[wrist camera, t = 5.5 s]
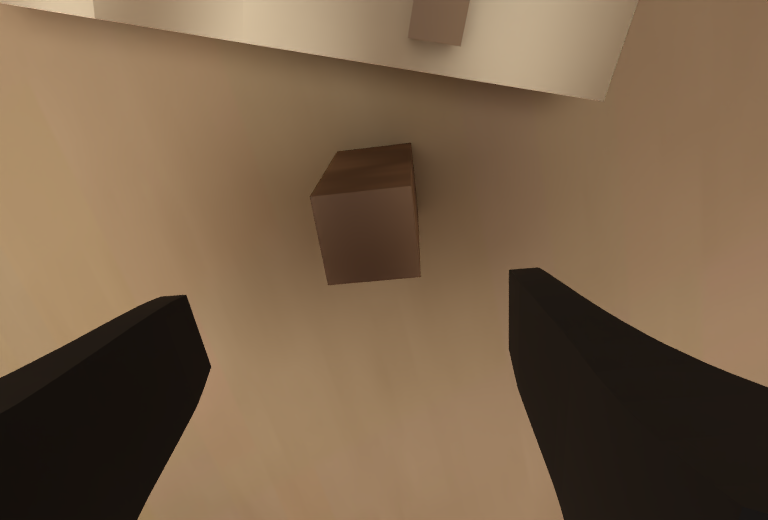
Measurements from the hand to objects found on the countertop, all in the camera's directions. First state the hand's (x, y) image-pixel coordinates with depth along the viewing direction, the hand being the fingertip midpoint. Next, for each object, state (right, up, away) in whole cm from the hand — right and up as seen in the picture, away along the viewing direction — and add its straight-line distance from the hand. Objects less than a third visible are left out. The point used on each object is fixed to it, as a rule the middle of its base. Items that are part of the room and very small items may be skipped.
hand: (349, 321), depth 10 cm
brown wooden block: (+1, +5, +9) cm, 10 cm away
